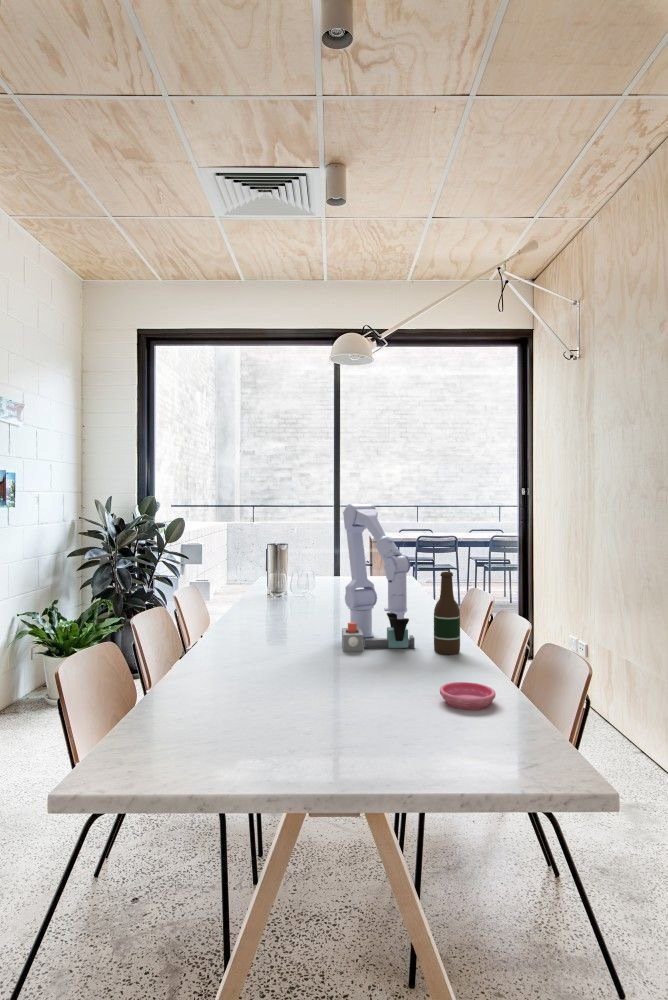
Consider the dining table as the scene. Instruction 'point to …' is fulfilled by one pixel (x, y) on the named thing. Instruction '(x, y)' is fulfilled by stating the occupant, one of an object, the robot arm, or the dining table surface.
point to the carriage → (392, 641)
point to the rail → (385, 642)
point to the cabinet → (352, 640)
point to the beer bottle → (446, 619)
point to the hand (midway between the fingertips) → (397, 638)
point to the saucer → (467, 695)
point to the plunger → (352, 627)
